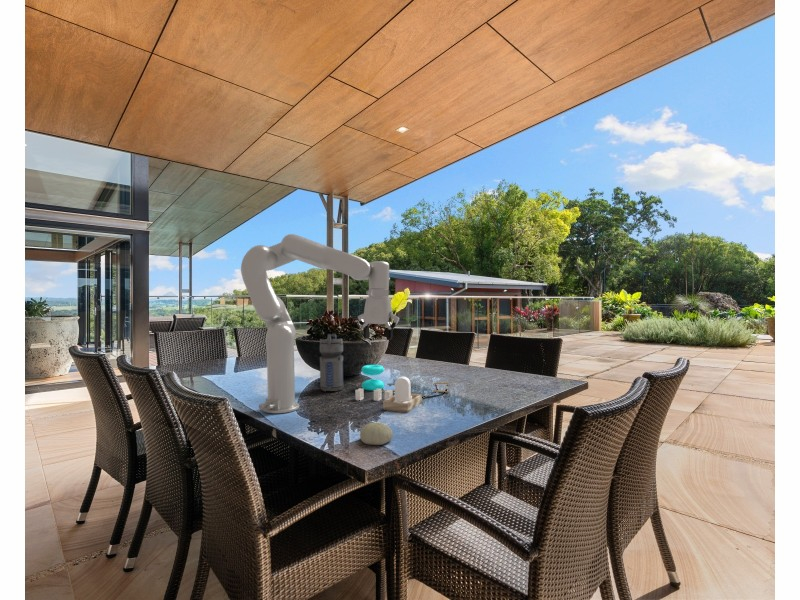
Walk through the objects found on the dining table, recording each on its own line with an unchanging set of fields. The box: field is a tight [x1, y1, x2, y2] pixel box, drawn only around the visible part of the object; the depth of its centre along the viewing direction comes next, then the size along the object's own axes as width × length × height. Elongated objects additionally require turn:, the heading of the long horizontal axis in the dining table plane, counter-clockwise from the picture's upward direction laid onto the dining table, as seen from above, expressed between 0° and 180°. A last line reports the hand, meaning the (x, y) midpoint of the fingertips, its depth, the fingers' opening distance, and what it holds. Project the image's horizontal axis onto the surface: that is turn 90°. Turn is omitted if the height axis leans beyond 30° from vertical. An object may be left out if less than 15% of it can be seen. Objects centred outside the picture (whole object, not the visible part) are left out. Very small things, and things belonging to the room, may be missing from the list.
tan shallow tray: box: [382, 393, 423, 413], centre depth 150 cm, size 15×10×3 cm, turn 157°
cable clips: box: [354, 388, 394, 402], centre depth 159 cm, size 5×14×4 cm, turn 67°
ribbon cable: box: [382, 382, 451, 399], centre depth 173 cm, size 29×1×30 cm
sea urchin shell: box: [359, 421, 394, 446], centre depth 113 cm, size 9×8×8 cm
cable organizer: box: [393, 376, 412, 403], centre depth 150 cm, size 5×10×10 cm, turn 167°
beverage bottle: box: [319, 333, 345, 392], centre depth 179 cm, size 10×13×25 cm
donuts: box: [361, 364, 385, 391], centre depth 180 cm, size 10×10×10 cm
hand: (377, 339), depth 153 cm, fingers open, 9 cm apart
